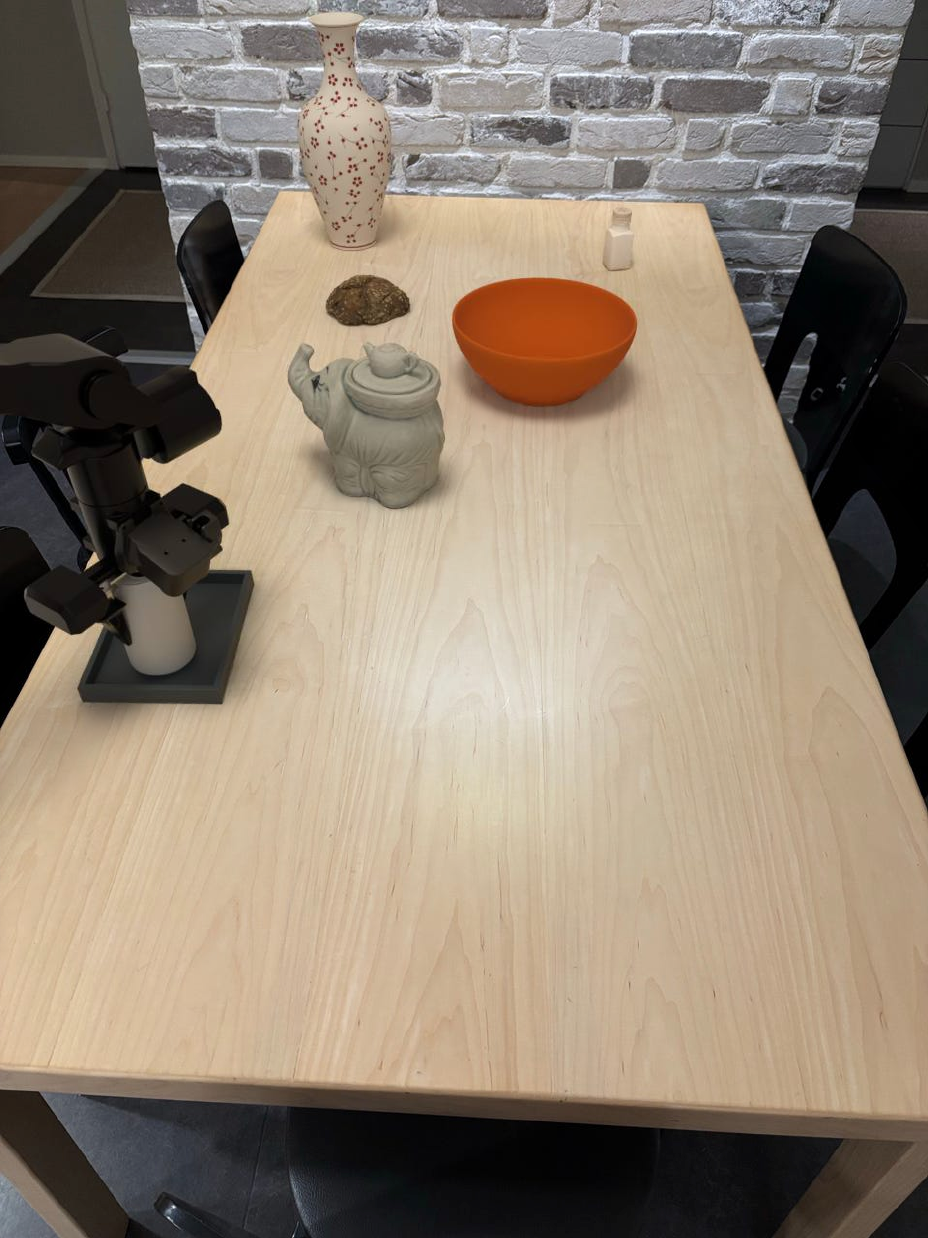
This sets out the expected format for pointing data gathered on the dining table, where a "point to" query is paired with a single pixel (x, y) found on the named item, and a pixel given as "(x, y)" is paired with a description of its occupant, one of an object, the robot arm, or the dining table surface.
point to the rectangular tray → (205, 676)
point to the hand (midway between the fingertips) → (154, 622)
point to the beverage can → (154, 626)
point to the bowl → (543, 337)
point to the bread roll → (367, 300)
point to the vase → (345, 140)
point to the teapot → (375, 420)
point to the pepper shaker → (619, 240)
